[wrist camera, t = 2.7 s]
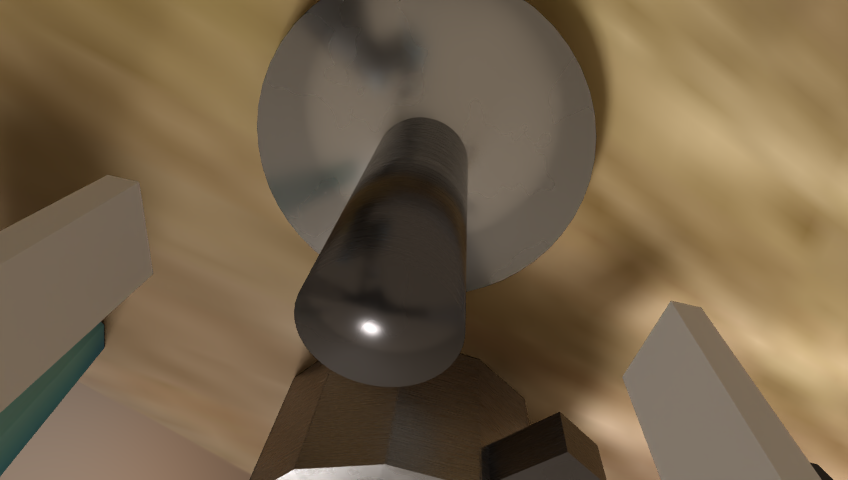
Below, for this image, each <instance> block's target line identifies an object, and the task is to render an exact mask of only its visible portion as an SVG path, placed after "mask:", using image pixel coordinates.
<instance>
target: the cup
mask: <svg viewBox="0 0 848 480" xmlns="http://www.w3.org/2000/svg"><path fill="white" fill-rule="evenodd" d="M103 349H104V324H103V323H102V322H100V323H99V324H97V325H96V326H95V327H94V328H93V329H92V330H91V331H90V332H89V333H88V334H86V335H85V336H84V337H83V338H82V339H81V340H80V341H79V342H78V343H77V344H75V345H74V346H73V347H72V348H71V349H70V350H69V351H68V352H67V353H66V354H64V355H63V356H62V357H61V358H60V359H59V360H58V361H57V362H56V363H55V364H53V365H52V366H51V367H50V368H49V369H48V370H47V371H46V372H45V373H44V374H42V375H41V376H40V377H39V378H38V379H37V380H36V381H35V382H34V383H33V384H31V385H30V386H29V387H28V388H27V389H26V390H25V391H24V392H23V393H22V394H20V395H19V396H18V397H17V398H16V399H15V400H14V401H13V402H12V403H11V404H9V405H8V406H7V407H6V408H5V409H4V410H3V411H2V412H1V413H0V476H1V475H2V474H3V472H4V471H5V470H6V468H7V467H8V466H9V465H10V464H11V462H12V461H13V460H14V459H15V457H16V456H17V455H18V454H19V453H20V451H21V450H22V449H23V448H24V446H25V445H26V444H27V443H28V441H29V440H30V439H31V438H32V436H33V435H34V434H35V433H36V432H37V430H38V429H39V428H40V427H41V425H42V424H43V423H44V422H45V420H46V419H47V418H48V417H49V415H50V414H51V413H52V412H53V411H54V409H55V408H56V407H57V406H58V404H59V403H60V402H61V401H62V399H63V398H64V397H65V396H66V394H67V393H68V392H69V391H70V390H71V388H72V387H73V386H74V385H75V383H76V382H77V381H78V380H79V378H80V377H81V376H82V375H83V374H84V372H85V371H86V370H87V369H88V367H89V366H90V365H91V364H92V362H93V361H94V360H95V359H96V357H97V356H98V355H99V354H100V353H101V351H102V350H103Z"/></svg>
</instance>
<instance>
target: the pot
mask: <svg viewBox="0 0 848 480" xmlns="http://www.w3.org/2000/svg"><path fill="white" fill-rule="evenodd" d="M250 480H606V476H605V472H604V469H603V465H602V461H601V457H600V454H599V450H598V446H597V445H596V444H595V443H594V442H593V441H592V440H591V439H590V438H589V437H587V436H586V435H585V434H584V433H583V432H582V431H581V430H580V429H578V428H577V427H576V426H575V425H574V424H573V423H572V422H571V421H569V420H568V419H567V418H566V417H565V416H564V415H563V414H562V413H560V412H558V413H556V414H554V415H552V416H550V417H548V418H545V419H543V420H541V421H539V422H537V423H534V424H532V425H530V426H529V422H528V416H527V411H526V406H525V399H524V398H523V397H521V396H520V395H519V394H518V393H517V392H516V391H515V390H513V389H512V388H511V387H510V386H509V385H508V384H506V383H505V382H504V381H503V380H502V379H501V378H500V377H498V376H497V375H496V374H495V373H494V372H493V371H491V370H490V369H489V368H488V367H487V366H486V365H485V364H483V363H482V362H481V361H480V360H479V359H476V358H472V357H469V356H465V355H461V354H459V355H458V357H457V358H456V360H455V361H454V362H453V363H452V364H451V365H450V367H448V368H447V369H446V370H445V371H444V372H442V373H441V374H439V375H437V376H436V377H434V378H432V379H430V380H427V381H425V382H422V383H418V384H414V385H410V386H402V387H381V386H373V385H367V384H363V383H360V382H356V381H353V380H351V379H348V378H346V377H344V376H341V375H339V374H337V373H336V372H334V371H332V370H330V369H329V368H328V367H326V366H325V365H323V364H322V363H321V362H320V361H318V362H316V363H315V364H313V365H312V366H311V367H309V368H308V369H306V370H305V371H303V372H302V373H301V374H299V375H298V376H296V377H295V378H294V379H293V381H292V384H291V386H290V388H289V391H288V393H287V395H286V397H285V400H284V402H283V404H282V407H281V409H280V411H279V413H278V416H277V418H276V420H275V423H274V425H273V427H272V429H271V432H270V434H269V436H268V439H267V441H266V443H265V445H264V448H263V450H262V452H261V455H260V457H259V459H258V461H257V464H256V466H255V468H254V471H253V473H252V475H251V477H250Z"/></svg>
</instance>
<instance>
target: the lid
mask: <svg viewBox="0 0 848 480" xmlns="http://www.w3.org/2000/svg"><path fill="white" fill-rule="evenodd" d="M257 131H258V145H259V152H260V156H261V161H262V166H263V170H264V173H265V176H266V179H267V182H268V185H269V187H270V189H271V192H272V194H273V196H274V198H275V200H276V202H277V204H278V206H279V207H280V209H281V211H282V212H283V214H284V215H285V217H286V218H287V220H288V222H289V223H290V224H291V225H292V227H293V228H294V229H295V230H296V232H297V233H298V234H299V235H300V236H301V237H302V238H303V239H304V240H305V241H306V242H307V243H308V244H309V245H310V246H311V247H312V248H313V249H314V250H315V251H316V252H317V253H318V254H319V256H318V258H317V260H316V262H315V264H314V265H313V267H312V269H311V271H310V273H309V275H308V277H307V279H306V280H305V282H304V284H303V286H302V288H301V290H300V292H299V293H298V296H297V299H296V302H295V309H294V317H295V323H296V328H297V331H298V333H299V336H300V338H301V340H302V341H303V343H304V345H305V346H306V347H307V349H308V350H309V351H310V352H311V354H312V355H313V356H314V357H315V358H316V359H317V360H319V361H320V362H321V363H322V364H323V365H325V366H326V367H328V368H329V369H330V370H332V371H334V372H336V373H337V374H339V375H341V376H344V377H346V378H348V379H351V380H353V381H356V382H360V383H363V384H367V385H373V386H381V387H402V386H410V385H414V384H418V383H422V382H425V381H427V380H430V379H432V378H434V377H436V376H437V375H439V374H441V373H442V372H444V371H445V370H446V369H447V368H448V367H450V365H451V364H452V363H453V362H454V361H455V360H456V358H457V357H458V355H459V354H460V351H461V349H462V347H463V343H464V339H465V316H466V292H467V291H471V290H475V289H479V288H482V287H486V286H488V285H491V284H494V283H496V282H499V281H501V280H504V279H505V278H507V277H509V276H511V275H513V274H515V273H517V272H519V271H520V270H522V269H523V268H525V267H526V266H528V265H529V264H531V263H532V262H534V261H535V260H536V259H537V258H539V257H540V256H541V255H542V254H543V253H544V252H545V251H547V250H548V249H549V248H550V247H551V246H552V245H553V243H554V242H555V241H556V240H557V239H558V238H559V237H560V236H561V235H562V233H563V232H564V231H565V229H566V228H567V226H568V225H569V223H570V222H571V221H572V219H573V218H574V216H575V214H576V212H577V210H578V208H579V206H580V204H581V202H582V201H583V198H584V195H585V193H586V190H587V187H588V184H589V182H590V178H591V174H592V169H593V164H594V160H595V148H596V125H595V113H594V108H593V103H592V99H591V94H590V90H589V87H588V85H587V82H586V79H585V77H584V74H583V72H582V69H581V67H580V65H579V63H578V61H577V60H576V58H575V56H574V54H573V52H572V51H571V49H570V47H569V45H568V44H567V43H566V42H565V40H564V39H563V38H562V36H561V35H560V34H559V32H558V31H557V30H556V29H555V27H554V26H553V25H552V24H551V23H550V22H549V21H548V20H547V19H546V18H545V17H544V16H543V15H542V14H541V13H540V12H538V11H537V10H536V9H535V8H534V7H533V6H532V5H530V4H529V3H527V2H526V1H524V0H320V1H319V2H317V3H316V4H315V5H313V6H312V7H311V8H310V9H309V10H308V11H307V12H306V13H305V14H304V15H303V16H302V17H301V18H300V19H299V20H298V21H297V22H296V23H295V24H294V26H293V27H292V28H291V30H290V31H289V32H288V34H287V35H286V36H285V38H284V39H283V40H282V42H281V44H280V45H279V47H278V49H277V51H276V53H275V55H274V57H273V59H272V60H271V62H270V65H269V68H268V71H267V73H266V76H265V79H264V82H263V85H262V90H261V95H260V100H259V105H258V121H257Z"/></svg>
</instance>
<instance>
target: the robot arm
mask: <svg viewBox="0 0 848 480" xmlns="http://www.w3.org/2000/svg"><path fill="white" fill-rule="evenodd" d="M152 274H153V269H152V263H151V256H150V249H149V243H148V236H147V230H146V223H145V217H144V210H143V203H142V197H141V190H140V184H139V182H138V181H133V180H129V179H124V178H120V177H115V176H111V175H106V176H104V177H102V178H100V179H98V180H96V181H95V182H93V183H91V184H89V185H87V186H85V187H83V188H81V189H79V190H77V191H75V192H74V193H72V194H70V195H68V196H66V197H64V198H62V199H60V200H58V201H56V202H54V203H53V204H51V205H49V206H47V207H45V208H43V209H41V210H39V211H37V212H35V213H34V214H32V215H30V216H28V217H26V218H24V219H22V220H20V221H18V222H16V223H14V224H13V225H11V226H9V227H7V228H5V229H3V230H1V231H0V413H1V412H2V411H3V410H4V409H5V408H6V407H7V406H8V405H9V404H11V403H12V402H13V401H14V400H15V399H16V398H17V397H18V396H19V395H20V394H22V393H23V392H24V391H25V390H26V389H27V388H28V387H29V386H30V385H31V384H33V383H34V382H35V381H36V380H37V379H38V378H39V377H40V376H41V375H42V374H44V373H45V372H46V371H47V370H48V369H49V368H50V367H51V366H52V365H53V364H55V363H56V362H57V361H58V360H59V359H60V358H61V357H62V356H63V355H64V354H66V353H67V352H68V351H69V350H70V349H71V348H72V347H73V346H74V345H75V344H77V343H78V342H79V341H80V340H81V339H82V338H83V337H84V336H85V335H86V334H88V333H89V332H90V331H91V330H92V329H93V328H94V327H95V326H96V325H97V324H99V323H100V322H101V321H102V320H103V319H104V318H105V317H106V316H107V315H108V314H110V313H111V312H112V311H113V310H114V309H115V308H116V307H117V306H118V305H119V304H121V303H122V302H123V301H124V300H125V299H126V298H127V297H128V296H129V295H130V294H132V293H133V292H134V291H135V290H136V289H137V288H138V287H139V286H140V285H141V284H143V283H144V282H145V281H146V280H147V279H148V278H149V277H150V276H151V275H152ZM623 380H624V383H625V385H626V388H627V391H628V393H629V396H630V399H631V401H632V404H633V407H634V409H635V412H636V415H637V417H638V420H639V423H640V425H641V428H642V431H643V433H644V436H645V439H646V441H647V444H648V447H649V449H650V452H651V455H652V457H653V460H654V462H655V465H656V468H657V470H658V473H659V476H660V478H661V480H833V479H832V478H831V477H830V476H829V475H828V474H827V473H826V472H825V471H824V470H823V469H822V468H821V467H820V466H819V465H818V464H814V463H810V462H809V461H808V459H807V458H806V457H805V455H804V454H803V452H802V451H801V449H800V448H799V447H798V445H797V444H796V442H795V441H794V439H793V438H792V437H791V435H790V434H789V432H788V431H787V429H786V428H785V427H784V425H783V424H782V422H781V421H780V419H779V418H778V417H777V415H776V414H775V412H774V411H773V409H772V408H771V407H770V405H769V404H768V402H767V401H766V399H765V398H764V397H763V395H762V394H761V392H760V391H759V389H758V388H757V387H756V385H755V384H754V382H753V381H752V379H751V378H750V377H749V375H748V374H747V372H746V371H745V369H744V368H743V367H742V365H741V364H740V362H739V361H738V359H737V358H736V357H735V355H734V354H733V352H732V351H731V349H730V348H729V347H728V345H727V344H726V342H725V341H724V339H723V338H722V337H721V335H720V334H719V332H718V331H717V329H716V328H715V327H714V325H713V324H712V322H711V321H710V319H709V318H708V317H707V315H706V314H705V312H704V311H703V309H702V308H701V307H697V306H692V305H688V304H683V303H679V302H674V301H670V303H669V305H668V306H667V308H666V309H665V311H664V312H663V314H662V316H661V317H660V319H659V320H658V322H657V323H656V325H655V327H654V328H653V330H652V331H651V333H650V334H649V336H648V338H647V339H646V341H645V342H644V344H643V345H642V347H641V349H640V350H639V352H638V353H637V355H636V356H635V358H634V360H633V361H632V363H631V364H630V366H629V367H628V369H627V371H626V372H625V374H624V375H623Z"/></svg>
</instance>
